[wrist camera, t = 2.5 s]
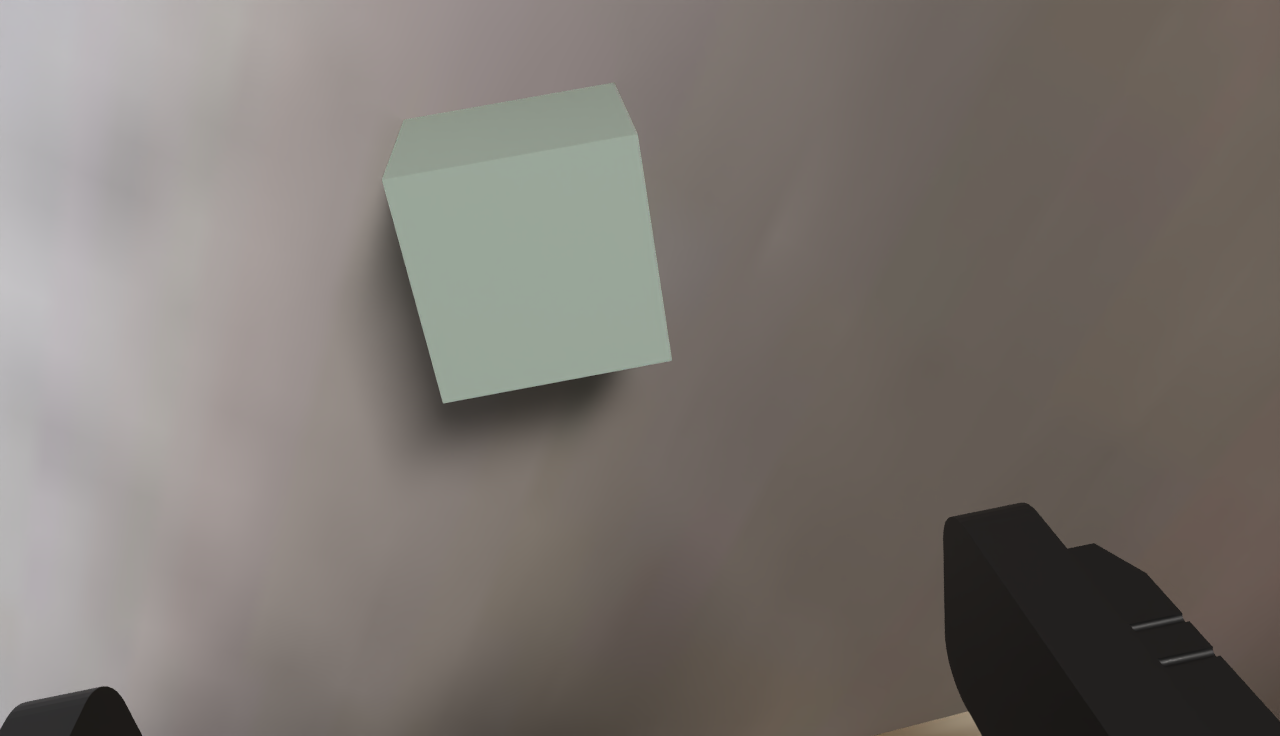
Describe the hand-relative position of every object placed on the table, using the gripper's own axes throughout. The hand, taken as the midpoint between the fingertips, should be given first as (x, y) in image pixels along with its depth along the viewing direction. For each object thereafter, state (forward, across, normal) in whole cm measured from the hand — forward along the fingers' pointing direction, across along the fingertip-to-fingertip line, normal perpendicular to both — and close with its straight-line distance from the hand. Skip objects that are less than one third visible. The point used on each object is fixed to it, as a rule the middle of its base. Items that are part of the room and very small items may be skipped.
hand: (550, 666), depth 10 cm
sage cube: (+15, 0, 0) cm, 15 cm away
